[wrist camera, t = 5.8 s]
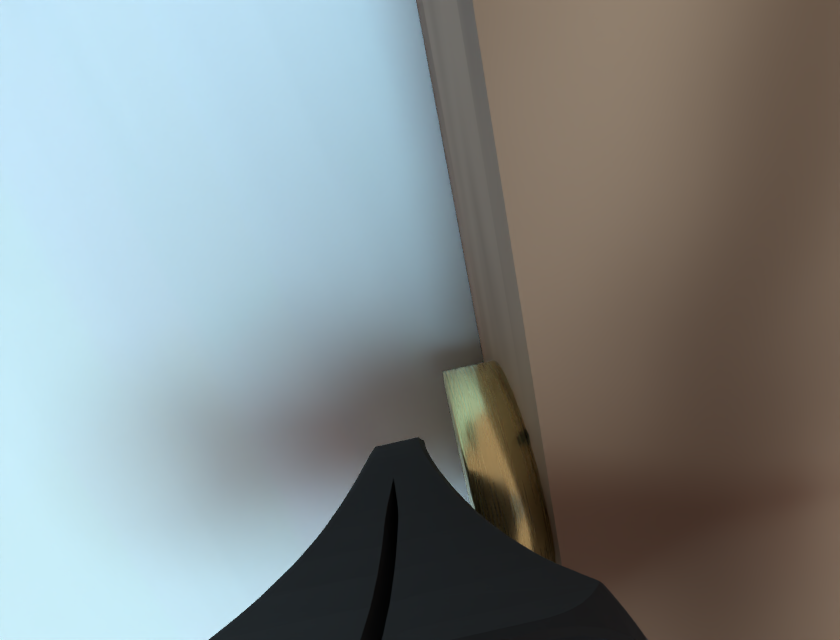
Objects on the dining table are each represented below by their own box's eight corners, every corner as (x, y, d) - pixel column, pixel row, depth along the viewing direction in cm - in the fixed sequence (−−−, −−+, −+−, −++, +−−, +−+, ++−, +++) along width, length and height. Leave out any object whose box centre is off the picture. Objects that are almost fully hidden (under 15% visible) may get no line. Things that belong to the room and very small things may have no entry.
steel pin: (780, 267, 13) (1004, 315, 8) (781, 429, 14) (974, 550, 9) (435, 343, 13) (462, 435, 8) (468, 498, 14) (508, 654, 9)
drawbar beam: (719, -162, 10) (1071, -529, 5) (742, 580, 16) (923, 782, 11) (398, -91, 10) (411, -387, 5) (533, 627, 16) (607, 853, 11)
